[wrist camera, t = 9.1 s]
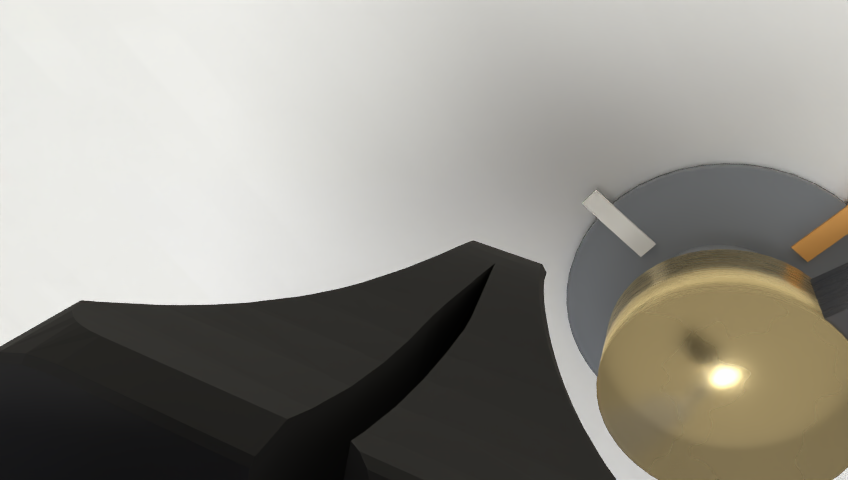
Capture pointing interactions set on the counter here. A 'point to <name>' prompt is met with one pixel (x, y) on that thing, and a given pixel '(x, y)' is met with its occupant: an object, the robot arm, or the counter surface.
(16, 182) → the counter surface
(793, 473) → the collar
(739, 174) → the post base
